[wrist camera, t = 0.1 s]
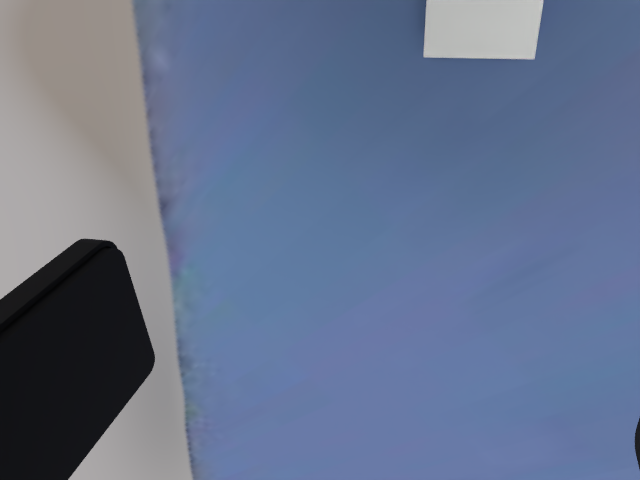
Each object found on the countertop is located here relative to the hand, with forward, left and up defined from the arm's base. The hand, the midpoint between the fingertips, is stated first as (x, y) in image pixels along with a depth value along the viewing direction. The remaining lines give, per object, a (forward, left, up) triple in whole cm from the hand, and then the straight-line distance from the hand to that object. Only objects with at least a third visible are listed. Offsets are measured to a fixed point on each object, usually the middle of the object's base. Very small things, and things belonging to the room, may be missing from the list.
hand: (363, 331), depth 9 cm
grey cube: (-2, +1, -31) cm, 31 cm away
